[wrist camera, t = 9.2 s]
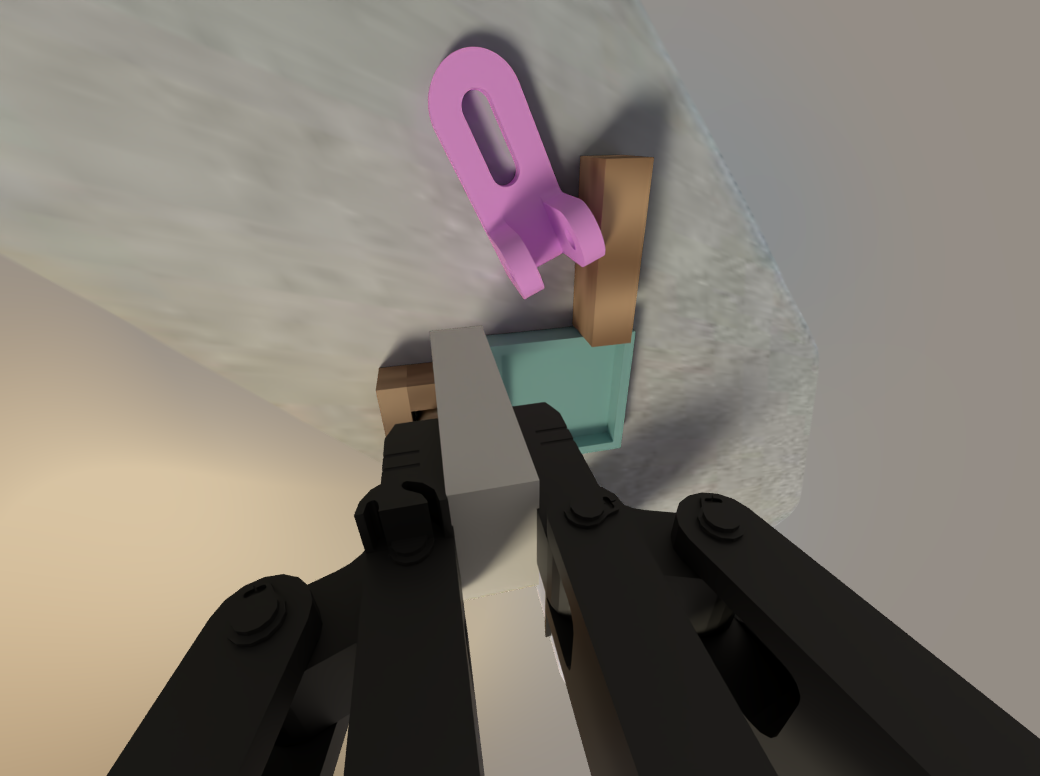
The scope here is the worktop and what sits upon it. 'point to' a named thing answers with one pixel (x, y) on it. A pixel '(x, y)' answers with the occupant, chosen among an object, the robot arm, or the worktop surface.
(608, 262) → the block
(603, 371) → the tray
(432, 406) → the socket block
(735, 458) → the worktop surface
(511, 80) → the bracket
